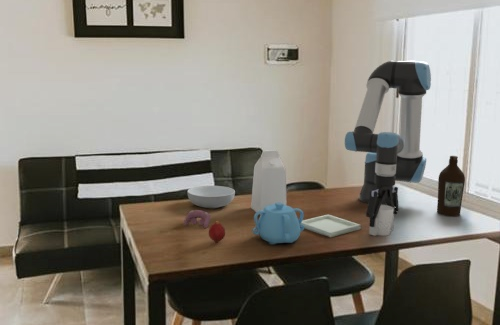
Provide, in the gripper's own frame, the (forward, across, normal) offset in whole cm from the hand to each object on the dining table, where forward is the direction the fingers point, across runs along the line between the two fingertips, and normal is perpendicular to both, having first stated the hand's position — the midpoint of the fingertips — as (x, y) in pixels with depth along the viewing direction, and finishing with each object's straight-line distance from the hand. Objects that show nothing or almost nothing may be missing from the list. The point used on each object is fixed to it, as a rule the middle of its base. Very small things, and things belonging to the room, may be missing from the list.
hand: (381, 232), depth 205 cm
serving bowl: (+1, -31, +68) cm, 75 cm away
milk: (0, -15, +48) cm, 50 cm away
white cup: (0, 0, 0) cm, 0 cm away
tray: (0, -12, +16) cm, 20 cm away
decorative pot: (+1, -37, +17) cm, 41 cm away
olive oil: (0, +46, 0) cm, 46 cm away
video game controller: (+1, -52, +48) cm, 70 cm away
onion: (+1, -57, +27) cm, 63 cm away
